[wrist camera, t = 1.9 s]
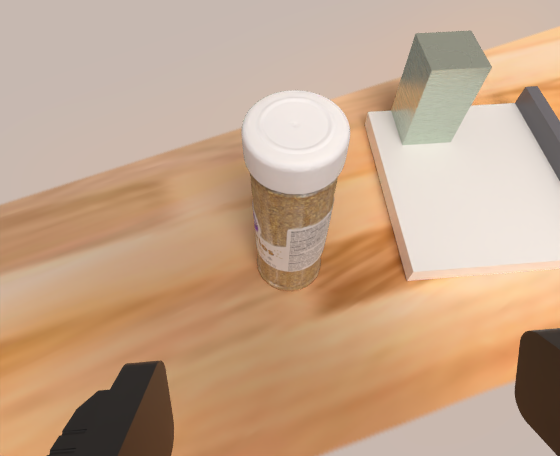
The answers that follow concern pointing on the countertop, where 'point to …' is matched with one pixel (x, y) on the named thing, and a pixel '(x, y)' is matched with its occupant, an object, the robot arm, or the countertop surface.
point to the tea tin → (438, 86)
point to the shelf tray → (475, 191)
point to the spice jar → (293, 181)
